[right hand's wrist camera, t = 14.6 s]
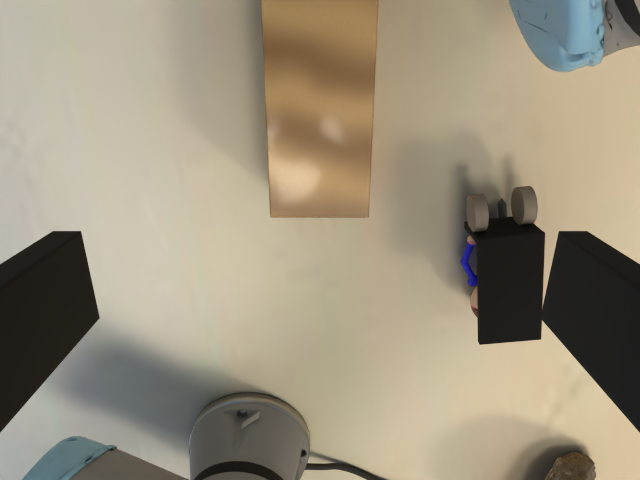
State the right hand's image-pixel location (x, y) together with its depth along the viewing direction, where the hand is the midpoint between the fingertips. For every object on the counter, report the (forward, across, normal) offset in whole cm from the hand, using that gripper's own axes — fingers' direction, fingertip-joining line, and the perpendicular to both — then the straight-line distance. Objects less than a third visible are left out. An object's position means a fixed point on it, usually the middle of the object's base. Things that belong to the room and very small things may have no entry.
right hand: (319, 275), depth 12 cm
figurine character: (+33, -18, +13) cm, 40 cm away
